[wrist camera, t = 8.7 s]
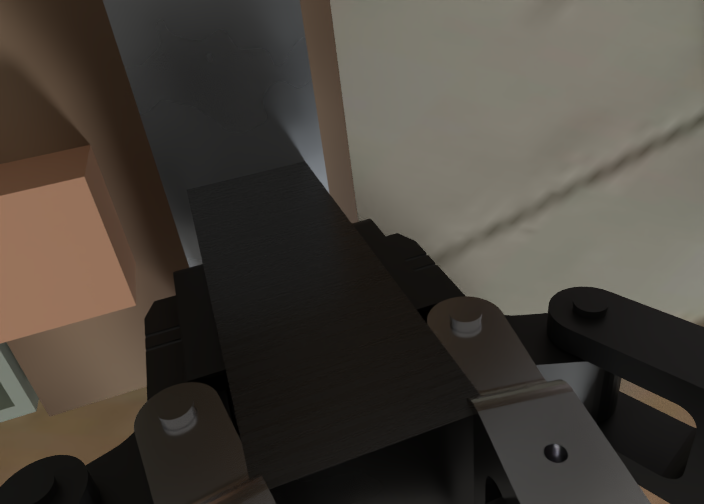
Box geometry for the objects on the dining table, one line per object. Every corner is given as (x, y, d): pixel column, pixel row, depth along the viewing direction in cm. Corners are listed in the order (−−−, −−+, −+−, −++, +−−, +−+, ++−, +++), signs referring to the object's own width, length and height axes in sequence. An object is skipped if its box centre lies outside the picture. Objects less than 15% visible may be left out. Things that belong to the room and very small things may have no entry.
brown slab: (290, -95, 17) (317, -98, 15) (346, 277, 25) (370, 316, 22) (-151, -33, 15) (-207, -24, 12) (58, 362, 22) (49, 416, 20)
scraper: (265, -45, 15) (549, 14, 5) (330, 318, 21) (508, 666, 11) (105, -20, 14) (43, 117, 4) (222, 351, 20) (313, 761, 10)
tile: (90, 144, 16) (84, 176, 14) (135, 262, 18) (136, 305, 16) (-66, 178, 15) (-97, 218, 13) (0, 298, 17) (-17, 348, 15)
